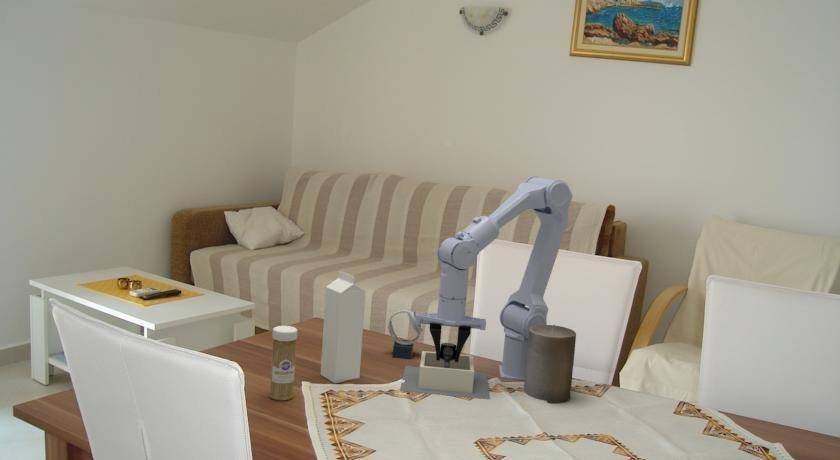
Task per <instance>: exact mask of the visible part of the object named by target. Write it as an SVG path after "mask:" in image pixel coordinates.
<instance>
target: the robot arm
mask: <svg viewBox="0 0 840 460" xmlns="http://www.w3.org/2000/svg"><path fill="white" fill-rule="evenodd" d="M573 197H574V196H573V193H572V191H571V189H570V187H569V185H568V183H566V182H565V181H564V180H562V179H550V178H545V177H544V178H543V177H539V176H535V175H533V176H529V177H527V178H526V179H525V181H523V182H522V183H520V184H519V185H518V187H517V189H516V191H514V193H512V195H510V197H508V198H507V199H506V200H505V201H504V202H503V203H502V204H501V205H500V206H498V207H497V208H496V209H495V210H494V211H493V212H492V213H491V214H490V215H488V216H487V215H480V216H475V217H474V218H473V219H472V222H471V223H470V224H469V225H467V226H466V227H465V228H464V229H463V230H461V231H458V232H456V235H455V236H454V237H448V238H446V239H445V240H443V241H442V242H441V244H440V246H439V249H437V250H436V256H437V259H438V260H439V263H440V281H439V291H438V301H437V302H438V304H437V312H436V313H434V312H433V313H432V312H431V313H421V312H415V313H416V321H415V324H419V325H420V324H421V325H429V333H430V335H431V338H432V340H433V345H434V349H435V352H436V360H438V361H440V350H441V338H442V327H454V328H458V330H457V339H456V340H457V341H456V355H455V362H458V360H459V356H460V354H462V350H463V348H464V345H465V343H466V342H467V340H468V338H469V337H470V335H471V331H472V329H476V330H477V329H478V330H480V331H486V328H487V327H486V326H487V319H486V318H479V317H474V316H473V317H472V316H468V315H466V308H467V298H468V297H467V295H468V286H469V285H468V284H469V275H470V268H471V267H473V266H474V265H475V263H476V260H477V257H478V255H479V254H480V253H481V252H482V251H483V250H484V249H486V248H487V247H488V246H489V245H490V244H492V243H493V241H495V240H496V239H497V238H499V235H500V229H501V228H503V227H504V226H505V225H506V224H508V223H509V222H510V223H511V221H512V220H514V219H515V218H517V217H518V216H519V215H521V214H523V212H525V211H526V210H529V209H531V210H533V212H534V213H535V214H536V215H537V217H538V219H539V221H540V226H539V229H538V231H537V234H536V238H535V240H534V244H533V247H532V250H531V252H530V256H529V258H528V262H527V265H526V268H525V271H524V273H523V276H522V277H523V278H522V280H521V283H520V286H519V289H518V290H516V291H514V292H513V293H511V294H510V295H509V297H508V299H507V302H506V303H505V305H504V306H503V307H502V309H501V310H500V314H499V322H500V325H501V326H502V327H503V332H504V344H503V354H502V363H501V364H500V365H498V369H499V371H498V372H499V374H500V378H502V379H511V380H521V381H522V380H523V381H525V372H526V361H527V350H528V338H529V328H530V327H531V326H534V325H548V321H547V316H548V313H549V308H548V306H547V303H546V300H544V295H545V293H546V290H547V286H548V284H549V281H550V278H551V274H552V272H553V268H554V266H555V262H556V260H557V256H558V253H559V251H560V247H561V244H562V241H563V237H564V235H565V233H566V232H565V231H566V229H567V226H568V223H569V208H570V206H571V201H572V199H573Z"/></svg>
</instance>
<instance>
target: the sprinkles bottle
mask: <svg viewBox="0 0 840 460" xmlns="http://www.w3.org/2000/svg"><path fill="white" fill-rule="evenodd" d="M271 336H272V337H271V339H272V351H271V352H272V353H271V361H270V363H271V365H270V386H269V387H270V388H269V390H270V391H269V398H270V399H272V400H275V401H289V400H291V399H292V398H294V393H293V392H294V382H295V370H296V369H295V368H296V347H297V346H296V345H297V344H296V343H297V339H298V329H297V328H296V327H294V326H291V325H290V326H289V325H278V326H275V327H273V328H272V335H271Z"/></svg>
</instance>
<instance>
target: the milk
mask: <svg viewBox="0 0 840 460" xmlns="http://www.w3.org/2000/svg"><path fill="white" fill-rule="evenodd" d="M324 299H325V301H324V311H323V312H324V315H323V329H322V332H323V333H322V343H321V344H322V345H321V347H322V348H321V359H320V360H321V362H320V376H322V377H324V378H325V379H327V380H329V381H330V382H331V383H333V384H339V383H345V382H346V381H348V380H355V379H360V378H361V377H360V375H361V372H360V371H361V362H362V347H363V335H364V334H363V333H364V330H363V329H364V320H365V319H364V317H365V304H366V303H365V300H366V290H364V289H363V288H362V287H360V286H359V285H357V284H355V276H354V275H352V274H349V273H346V272H345V271H342V270H339V272H338V277H337V278H336V279H334V280H333V281H332V282H331V283H329V284H328V285H326V287H325V297H324Z"/></svg>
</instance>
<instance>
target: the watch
mask: <svg viewBox="0 0 840 460" xmlns="http://www.w3.org/2000/svg"><path fill="white" fill-rule="evenodd" d="M403 313H404V314H405V313H406V314H407V316H408V319H409V321H410V324H411V326H412V328H413V330H414V331H415V332H416V333H417V336H416V337H415V338H414V339H412V340H406V339H399V338H398V335H397V334H396V332H395V330H394V327H393V324H392V323H393V322H392V319H393V318H394V317H395V316H396V315H398V314H403ZM416 313H417V312H416V311H412V310H411V309H407V308H401V309H398V310H395V312H393V313H392V314H391V316H390V318H389V320H388V324H387V328H388V332H389V335H390V337H391V338H392V340H393V341H394V344H393V345H392V358H393V359H404V360H412V358H413V353H414V345H415V343H416V342H417V341H418V340H419V338H420V337H421V332H424V331H423V330H424V329H423V324H420V325H419V324H415V321H416Z"/></svg>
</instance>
